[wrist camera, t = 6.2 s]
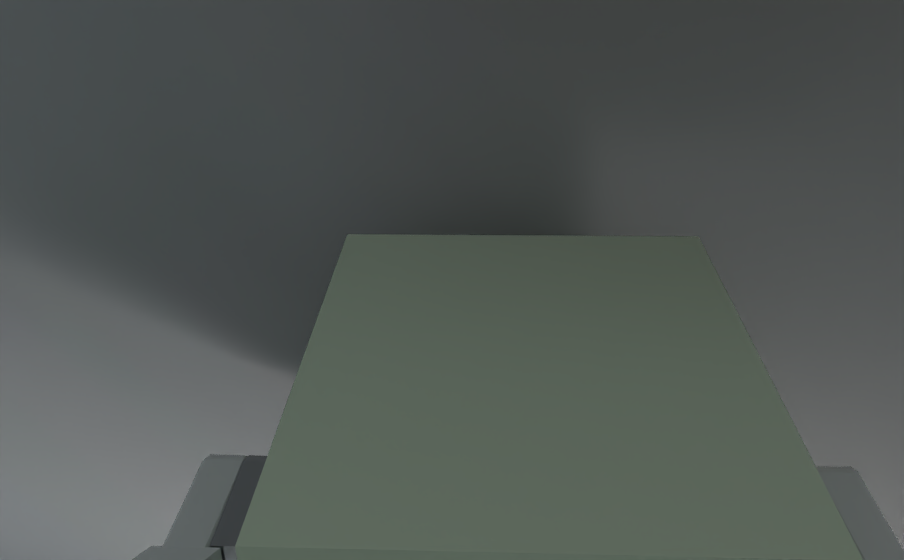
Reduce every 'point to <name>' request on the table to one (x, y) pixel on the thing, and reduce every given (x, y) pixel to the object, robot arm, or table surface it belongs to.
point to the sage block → (535, 413)
